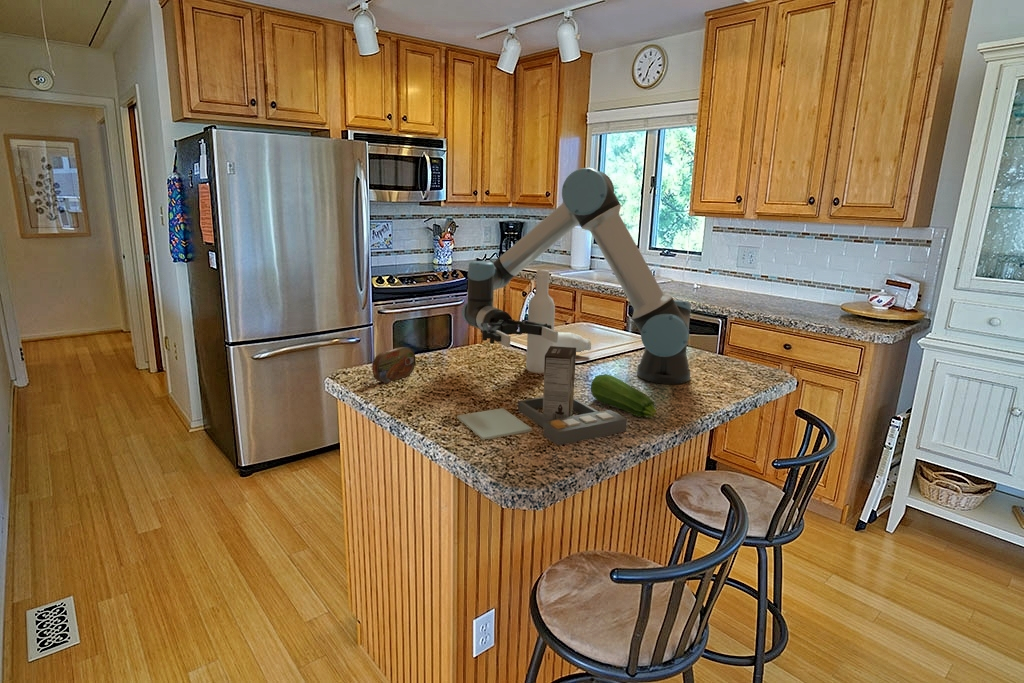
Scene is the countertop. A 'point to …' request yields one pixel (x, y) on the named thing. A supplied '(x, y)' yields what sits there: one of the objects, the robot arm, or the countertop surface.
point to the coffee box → (559, 382)
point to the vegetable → (622, 396)
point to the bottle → (539, 312)
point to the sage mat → (494, 423)
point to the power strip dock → (574, 422)
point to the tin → (393, 364)
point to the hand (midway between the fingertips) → (533, 339)
